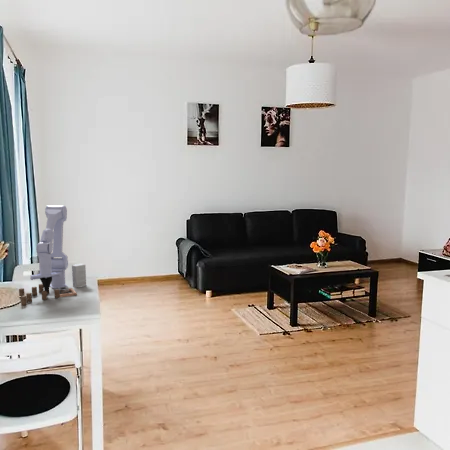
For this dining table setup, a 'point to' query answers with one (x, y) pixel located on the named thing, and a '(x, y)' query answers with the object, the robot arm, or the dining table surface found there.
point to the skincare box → (79, 275)
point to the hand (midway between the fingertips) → (46, 291)
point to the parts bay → (69, 293)
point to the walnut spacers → (34, 293)
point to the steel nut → (63, 290)
